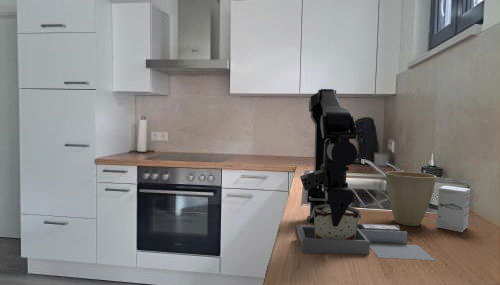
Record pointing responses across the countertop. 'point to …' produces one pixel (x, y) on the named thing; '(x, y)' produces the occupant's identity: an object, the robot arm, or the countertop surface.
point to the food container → (325, 225)
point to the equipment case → (331, 242)
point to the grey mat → (400, 251)
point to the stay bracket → (384, 235)
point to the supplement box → (453, 208)
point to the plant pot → (409, 195)
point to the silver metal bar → (380, 227)
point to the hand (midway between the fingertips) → (332, 222)
